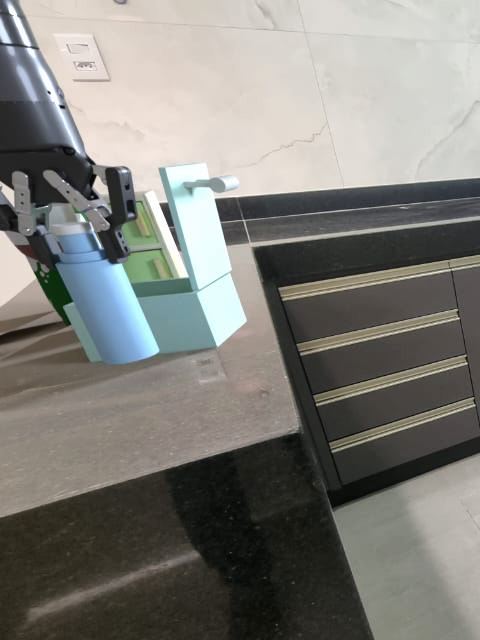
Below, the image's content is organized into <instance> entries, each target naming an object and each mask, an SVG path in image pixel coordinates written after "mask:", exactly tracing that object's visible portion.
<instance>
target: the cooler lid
mask: <svg viewBox="0 0 480 640" xmlns="http://www.w3.org/2000/svg"><path fill="white" fill-rule="evenodd" d="M157 169H158V173H159V177H160V180H161V184H162V186H163V190H164V193H165V197H166V201H167V206H168V208H169V212H170V216H171V219H172V223H173V226H174V230H175V233H176V237H177V241H178V245H179V247H180V251H181V254H182V258H183V263H184V267H185V269H186V272H187V274H188V277H189V280H190V283H191V287H192V290H199V289H201V288H203V287H204V286H206V285H208V284H209V283H211V282H213V281H214V280H216V279H218V278H219V277H221V276H223V275H224V274H226V273H230V272H231V271H232V270H233V269H232V265H231V261H230V257H229V253H228V249H227V245H226V241H225V237H224V232H223V229H222V224H221V220H220V215H219V212H218V208H217V204H216V200H215V196H214V193H216V194H221V193H225V192H230V191H234V190H236V189H238V188H239V187H240V181H239V180H238V178H237V177H236V176H234V175H232V174H226V175H221V176H215V177H211V178H210V177H209V171H208V167H207V164H206V162H196V163H194V162H193V163H186V164H178V165H168V166H161V167H158V168H157Z"/></svg>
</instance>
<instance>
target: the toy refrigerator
mask: <svg viewBox="0 0 480 640" xmlns="http://www.w3.org/2000/svg"><path fill="white" fill-rule="evenodd" d="M134 193H135V200H136V206H137V213H138V218H137V219H136V220H133V221H130V222H128V223H126V224H124V225H123V226H122V232H123V234H124V237H125V239H126V241H127V244H128V246H129V248H130V251H131V254H130V256H128V261H126V262H124V263H121V264H122V266H123V268H124V270H125V273H126V275H127V277H128V280H129V282H138V281H148V280H159V279H170V278H181V277H189V276H188V273H187V269H186V266H185V264H184V261H183V259H182V257H181V254H180V252H179V249H178V248H177V245H176V243H175V240H174V237H173V235H172V232H171V230H170V228H169V225H168V222H167V220H166V218H165V216H164V212H163V211H162V208H161V205H160V202H159V200H158V198H157V195H156V193H155V191H154V190H139V191H134ZM99 194H100V193H99ZM100 195H101V196H102V197H103V198H104V199H105V200H106V202H107V203H108V207H109V208H110V209H111V205H110V199H109V193H103V194H100ZM87 220H88V222H91V220H90V219H89V218H88V217H87ZM91 224H92V226H93V228H94V233H95V235H96V237H97V239H98V241H99V243H100V245H101V247H103V245H102V243H101V241H100V238H99V236H98V234H97V232H99V231H100V229H98V228H97V227H96V226H95V225H94V224H93V223H92V222H91Z"/></svg>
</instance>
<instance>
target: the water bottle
mask: <svg viewBox="0 0 480 640" xmlns="http://www.w3.org/2000/svg"><path fill="white" fill-rule="evenodd" d="M51 229H52V231H53V233H54V235H56V236H57V238H58V241H59V243H60V245H61V247H62V249H63V251H64V252H62V253H59V257H60V259H61V262H58V263H56V264H55V265H56V267H57V269H58V271H59V273H60V275H61V277H62V279H63V281H64V283H65V285H66V288H67V290H68V292H69V294H70V296H71V298H72V300H73V302H74V304H75V306H76V308H77V310H78V312H79V314H80V316H81V318H82V320H83V322H84V324H85V326H86V328H87V330H88V332H89V334H90V336H91V338H92V340H93V342H94V344H95V346H96V348H97V351H98V353H99V355H100V357H101V359H102V361H101V362H102V363H103V365H107V366H115V365H116V366H117V365H124V364H129V363H134V362H139V361H143V360H145V359H148V358H150V357H152V356H155V354H156V353H158V352H159V348H158V346H157V343H156V341H155V339H154V336H153V334H152V332H151V330H150V327H149V325H148V323H147V321H146V318H145V316H144V314H143V311H142V309H141V307H140V305H139V302H138V300H137V298H136V296H135V293H134V291H133V289H132V286H131V284H130V282H129V280H128V277H127V275H126V273H125V270H124V268H123V266H122V264H112V263H111V262H110V261H109V258H108V256H107V254H106V252H105V250H104V247H100V245H99V242H98V240H97V239H98V238H96V237H97V236H95V235H96V234H95V232H94V228H93V226H92V224H91V222H90V221H88V222H87V221H86V222H71V223H62V224H56V225H52V226H51ZM156 355H157V354H156Z"/></svg>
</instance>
